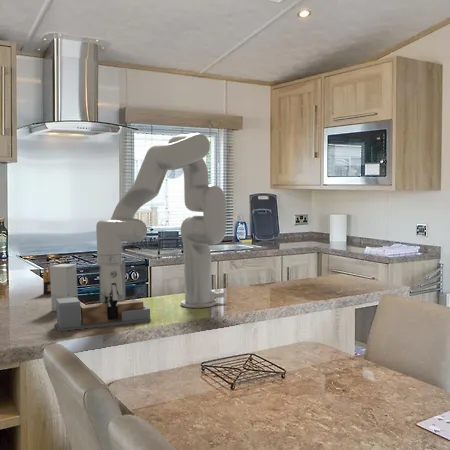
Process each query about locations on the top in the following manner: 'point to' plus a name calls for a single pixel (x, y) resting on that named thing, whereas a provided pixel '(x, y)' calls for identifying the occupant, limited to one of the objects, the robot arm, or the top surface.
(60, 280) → the skincare box
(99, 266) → the skincare box
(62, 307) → the endcap board
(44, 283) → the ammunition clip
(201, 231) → the robot arm
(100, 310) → the slat
